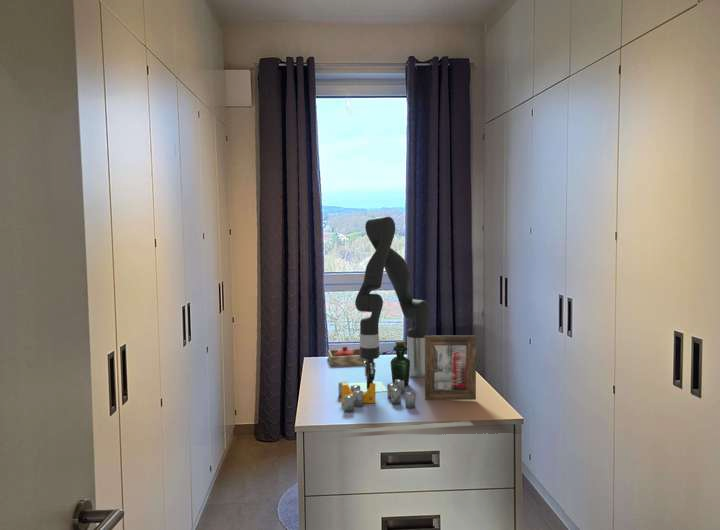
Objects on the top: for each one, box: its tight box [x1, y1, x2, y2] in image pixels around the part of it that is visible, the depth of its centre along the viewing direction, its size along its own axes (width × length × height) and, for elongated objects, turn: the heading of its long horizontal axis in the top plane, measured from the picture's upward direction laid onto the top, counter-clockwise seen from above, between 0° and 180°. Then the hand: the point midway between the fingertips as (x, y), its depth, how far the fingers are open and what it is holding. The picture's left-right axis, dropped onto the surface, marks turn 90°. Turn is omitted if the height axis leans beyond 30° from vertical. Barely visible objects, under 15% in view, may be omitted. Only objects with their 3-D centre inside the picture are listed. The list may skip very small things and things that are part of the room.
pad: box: [347, 381, 387, 393], centre depth 208 cm, size 16×14×1 cm
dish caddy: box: [327, 348, 365, 367], centre depth 250 cm, size 17×16×5 cm
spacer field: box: [337, 379, 416, 413], centre depth 190 cm, size 26×21×5 cm
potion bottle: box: [390, 339, 410, 388], centre depth 211 cm, size 8×8×18 cm
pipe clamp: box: [341, 382, 376, 405], centre depth 188 cm, size 12×4×6 cm, turn 86°
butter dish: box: [336, 345, 355, 356], centre depth 249 cm, size 12×12×8 cm
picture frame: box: [424, 335, 477, 401], centre depth 191 cm, size 19×2×24 cm, turn 87°
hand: (369, 389), depth 199 cm, fingers closed
